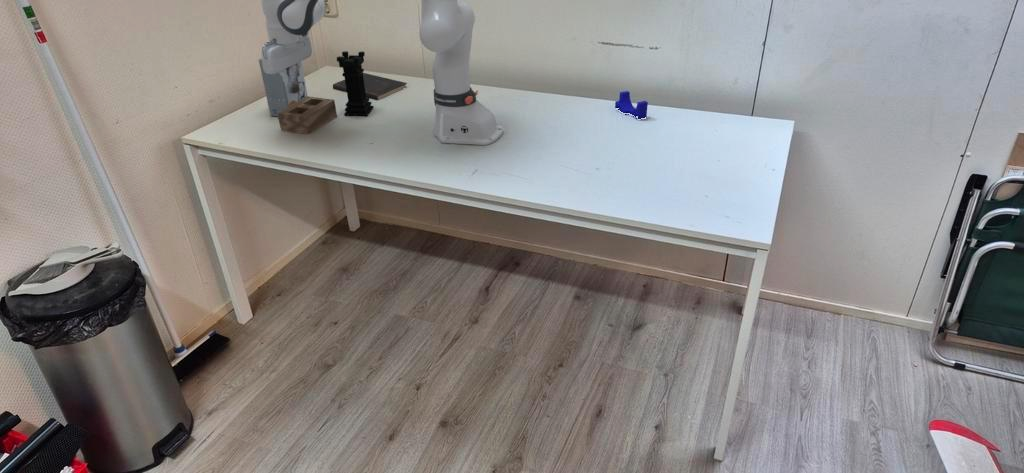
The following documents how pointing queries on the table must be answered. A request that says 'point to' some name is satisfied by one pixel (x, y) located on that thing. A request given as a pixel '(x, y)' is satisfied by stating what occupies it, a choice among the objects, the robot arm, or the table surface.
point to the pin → (292, 80)
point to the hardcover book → (375, 86)
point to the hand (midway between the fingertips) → (291, 79)
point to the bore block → (307, 115)
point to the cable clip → (627, 107)
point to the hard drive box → (281, 91)
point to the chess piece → (355, 85)
